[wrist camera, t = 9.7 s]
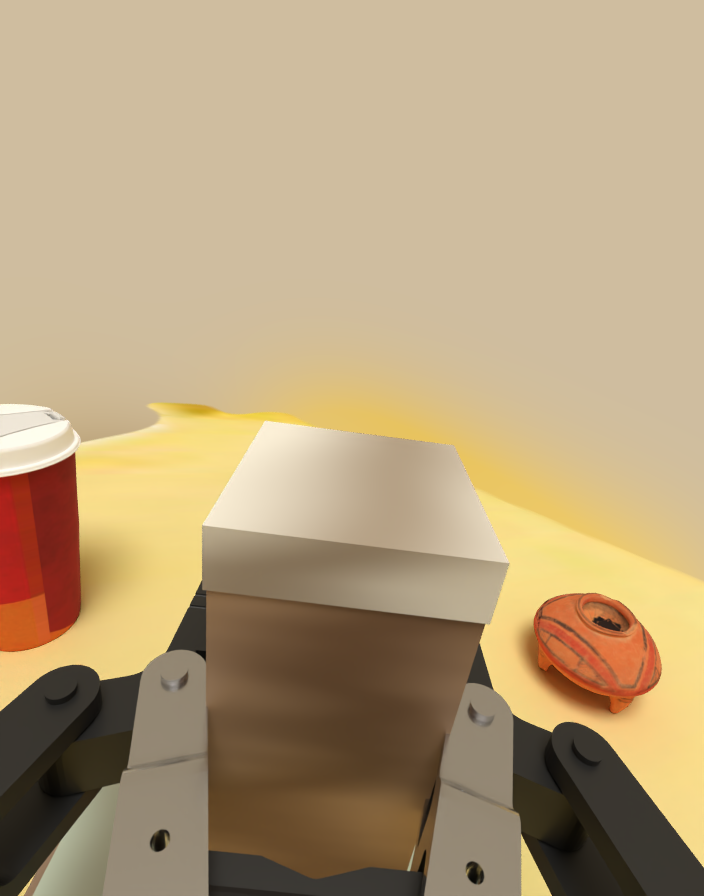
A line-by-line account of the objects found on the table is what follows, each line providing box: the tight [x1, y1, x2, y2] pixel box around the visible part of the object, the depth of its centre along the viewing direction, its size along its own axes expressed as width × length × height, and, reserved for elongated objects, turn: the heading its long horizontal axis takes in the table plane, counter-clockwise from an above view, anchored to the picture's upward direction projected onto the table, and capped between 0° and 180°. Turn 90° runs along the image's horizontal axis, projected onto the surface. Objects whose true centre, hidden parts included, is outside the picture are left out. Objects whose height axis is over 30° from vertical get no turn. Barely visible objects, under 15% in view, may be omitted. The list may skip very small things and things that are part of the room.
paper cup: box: [0, 404, 81, 652], centre depth 28 cm, size 8×8×14 cm
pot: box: [534, 593, 662, 713], centre depth 32 cm, size 8×8×7 cm
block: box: [202, 421, 509, 879], centre depth 11 cm, size 5×5×12 cm
